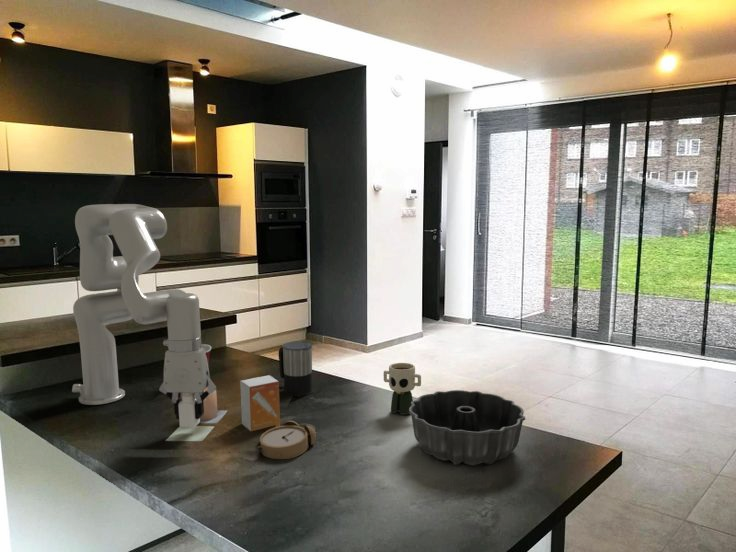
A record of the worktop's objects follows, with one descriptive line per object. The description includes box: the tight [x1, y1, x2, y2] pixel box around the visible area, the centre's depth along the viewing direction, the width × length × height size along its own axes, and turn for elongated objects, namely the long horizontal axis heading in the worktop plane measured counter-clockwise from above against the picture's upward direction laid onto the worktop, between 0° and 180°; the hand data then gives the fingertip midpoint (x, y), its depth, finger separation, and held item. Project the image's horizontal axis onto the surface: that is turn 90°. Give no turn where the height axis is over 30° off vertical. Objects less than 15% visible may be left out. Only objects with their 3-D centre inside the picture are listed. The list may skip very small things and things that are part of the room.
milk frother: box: [278, 340, 314, 397], centre depth 175 cm, size 14×16×15 cm
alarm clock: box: [256, 420, 319, 460], centre depth 138 cm, size 11×5×15 cm
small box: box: [239, 375, 281, 432], centre depth 148 cm, size 8×6×13 cm
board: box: [165, 409, 228, 442], centre depth 149 cm, size 14×22×2 cm, turn 176°
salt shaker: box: [178, 393, 200, 428], centre depth 142 cm, size 4×4×10 cm
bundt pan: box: [409, 389, 526, 466], centre depth 135 cm, size 26×26×10 cm
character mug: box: [383, 362, 422, 415], centre depth 158 cm, size 11×7×13 cm, turn 66°
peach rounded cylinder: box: [195, 387, 218, 421], centre depth 154 cm, size 6×6×7 cm
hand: (189, 416), depth 143 cm, fingers closed on salt shaker, 4 cm apart
